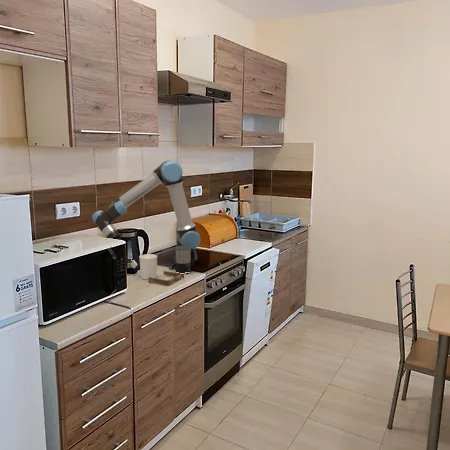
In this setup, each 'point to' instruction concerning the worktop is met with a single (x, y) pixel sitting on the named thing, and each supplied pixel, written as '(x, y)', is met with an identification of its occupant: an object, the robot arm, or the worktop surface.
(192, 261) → the milk frother
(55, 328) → the worktop surface
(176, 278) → the walnut bay
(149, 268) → the candle holder
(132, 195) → the robot arm
